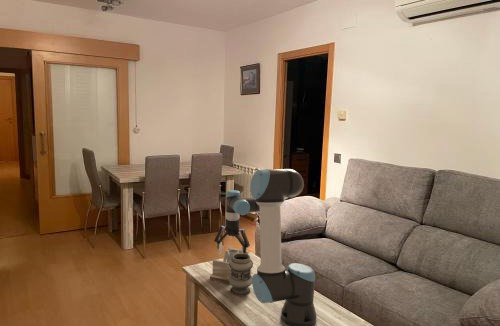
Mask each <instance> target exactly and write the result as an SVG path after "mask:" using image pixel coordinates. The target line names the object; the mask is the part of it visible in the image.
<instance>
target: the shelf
mask: <svg viewBox="0 0 500 326" xmlns="http://www.w3.org/2000/svg"><path fill="white" fill-rule="evenodd" d="M230 249H236V250H238V251H239V253H242V249H239V248H234V247H228V249H227V251H228V250H230ZM245 254H248V255H249V250H246V253H245ZM230 275H231V268H230V266H229V263H228V262H227V261H226V262H224V261H223V260H218V259H212V274H210V276H209V280H210V281H215V282H218V283H224V284H227V285H230V283H229V277H230Z"/></svg>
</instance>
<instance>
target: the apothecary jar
mask: <svg viewBox="0 0 500 326" xmlns="http://www.w3.org/2000/svg"><path fill="white" fill-rule="evenodd" d="M229 266H230V268H231V275H230V277H229V283H230V284H229V285H230V286H231V288H230V289H229V290H230V293H232V295H234V296H239V297H243V296H247V295H249V294H250V293H251V288H250V286H252V278H253V275H251V271H252V270H251V269H253V266H254V262H253V260H252V259H251V256H250V255H249V253H248V254H245V253H237V254H234V255H233V258H232V259H231V260H230V262H229Z"/></svg>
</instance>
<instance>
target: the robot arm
mask: <svg viewBox="0 0 500 326" xmlns="http://www.w3.org/2000/svg"><path fill="white" fill-rule="evenodd" d="M304 182H305V181H304V178H303V177H302V175H301V173H299V172H298V171H296V170H294V169H291V168H284V169H283V168H280V169H279V168H278V169H277V168H276V169H273V168H272V169H271V168H270V169H269V168H268V169H267V168H266V169H259V170H258V169H257V171H255V172H254V173H253V174H252V176H251V180H250V184H249V187H250V188H249V189H250V196H251V197H243V198H242V197H241V195H242V194H241V191H239V190H236V189H230V190H227V191H226V196H225V225H223V224H222V225H221V226H219V229H218V230H219V231H218V232H217V234H216V236H215V238H214V242H215V243H216V245H217V247H216V248H217V249H218V256H219V257H220V256H221V255H223V242H222V241H223V240H224V239H225V238H226V237H227V236H229V237H235V239H236V240H237V241H238V242H239V244H240V245H241V246H242V247H241V250H242V253H246V251H247V248H249V247H250V246H251V244H250V242H249V239H248V236H247V234H246V229H245V228H242V229H241V228H240V218H241V217H240V215H241V216H246V215H247V214H249V213H250V214H251V213H259V238H260V239H259V244H260V245H259V246H260V247H259V248H260V253H259V254H260V264H259V265H258V266H257V268H256V273H254V274H253V275H252V284H251V286H252V290H253V293H254V295H255V297H256V298H257V300H258V301H259V302H260V303H261V304H271V303H276V302H281V301H284V304H283V305H282V308H281V311H280V312H281V313H280V319H281V320H282V322H283V323H285V324H286V325H288V326H314V325H315V324H316V322H317V312H316V309H315V305H314V304H315V303H314V297H315V296H314V295H315V285H316V283H315V282H316V272H315V271H314V269H313V268H312V267H310V266H308V265H306V264H303V263H298V262H297V263H295V262H294V263H289V264H288V265H287V267H285V266H284V265H283V264H282V231H281V229H282V227H281V221H282V220H281V206H282V205H283V204H284V202H285V200H287V199H292V198H295V197H297V196H298V195H300V194H301V193H302V192H303V190H304V187H305V183H304ZM224 231H225V233H224V234H223V232H224ZM222 234H223V235H222ZM221 235H222V236H221ZM286 268H287V269H286Z"/></svg>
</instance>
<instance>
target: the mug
mask: <svg viewBox="0 0 500 326" xmlns="http://www.w3.org/2000/svg"><path fill="white" fill-rule="evenodd" d="M236 249H237V248H234V249H230V250H228V249H226V250H224V256H223V260H222V261H224V262H228V263H229V262H230V260H231V259H232V258H233V255H234V254H237V253H239V251H238V250H236Z"/></svg>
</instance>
